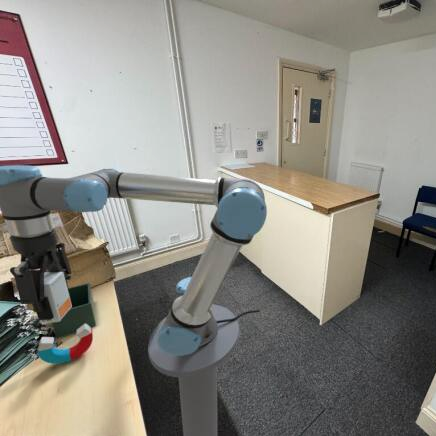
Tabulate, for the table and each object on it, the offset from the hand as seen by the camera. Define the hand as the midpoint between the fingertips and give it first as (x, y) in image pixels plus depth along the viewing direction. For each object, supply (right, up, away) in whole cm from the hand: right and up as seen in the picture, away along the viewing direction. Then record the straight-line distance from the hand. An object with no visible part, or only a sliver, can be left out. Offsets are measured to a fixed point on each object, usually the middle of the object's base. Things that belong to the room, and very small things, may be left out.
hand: (55, 309), depth 63 cm
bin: (-15, -13, +23) cm, 30 cm away
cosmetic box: (0, -2, +1) cm, 2 cm away
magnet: (-4, -19, +9) cm, 21 cm away
